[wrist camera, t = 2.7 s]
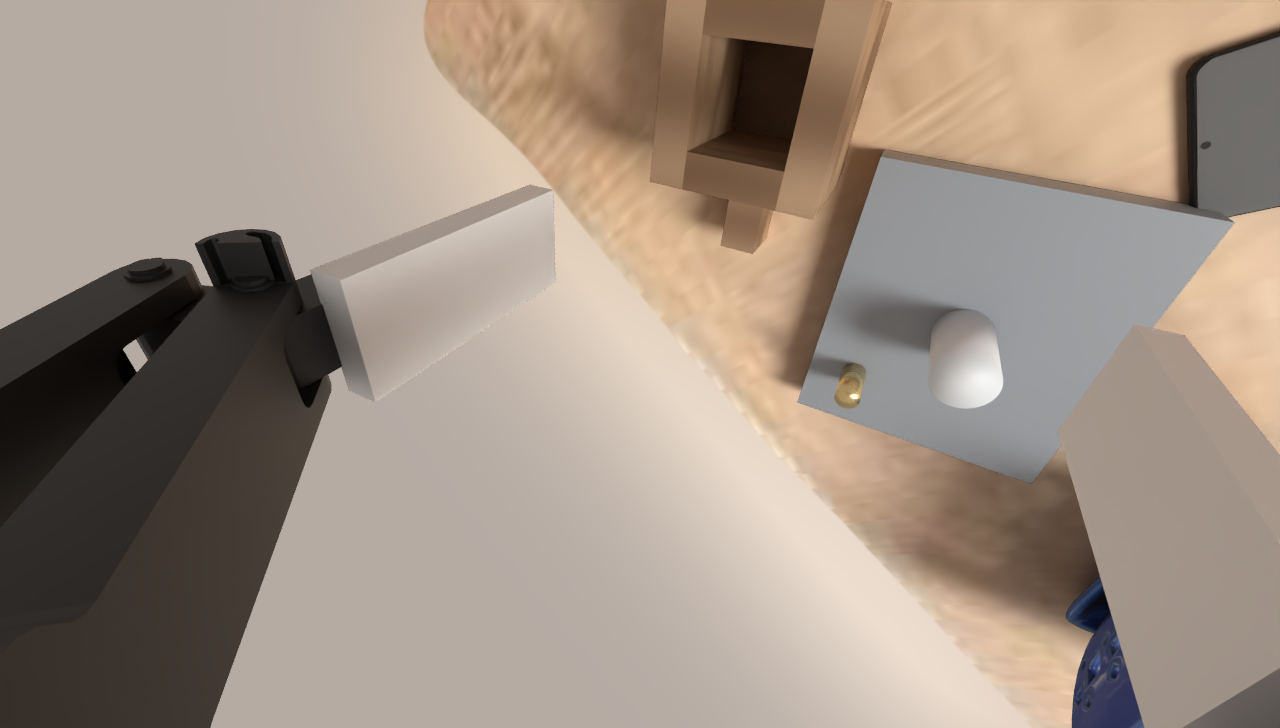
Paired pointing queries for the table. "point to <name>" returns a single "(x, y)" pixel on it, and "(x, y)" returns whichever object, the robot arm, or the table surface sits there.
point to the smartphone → (1235, 128)
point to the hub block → (707, 97)
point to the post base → (995, 303)
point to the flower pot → (1101, 668)
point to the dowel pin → (850, 385)
